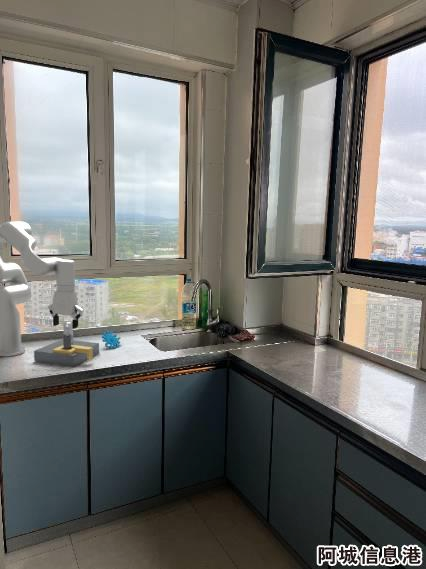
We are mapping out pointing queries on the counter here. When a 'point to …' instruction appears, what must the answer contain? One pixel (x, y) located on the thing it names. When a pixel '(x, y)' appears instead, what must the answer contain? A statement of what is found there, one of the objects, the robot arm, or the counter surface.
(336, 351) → the counter surface
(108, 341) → the gear
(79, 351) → the bracket
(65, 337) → the wedge pin
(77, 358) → the grey fixture base
